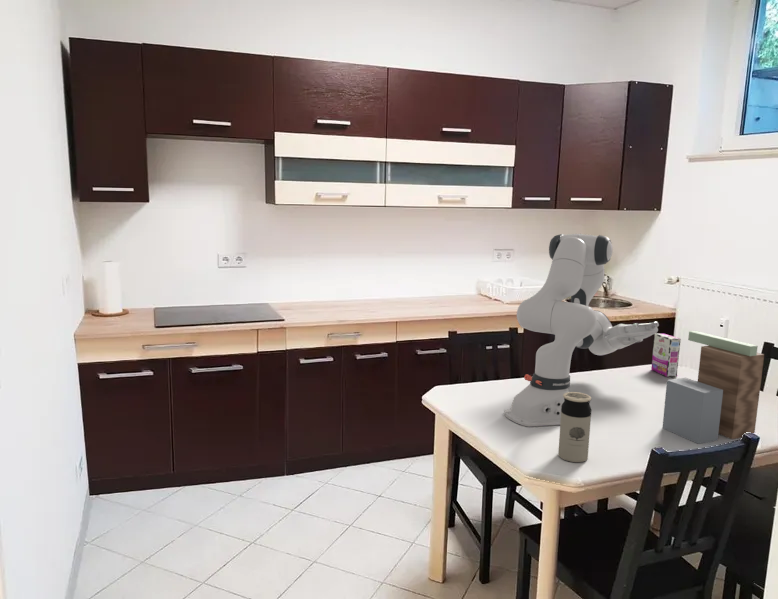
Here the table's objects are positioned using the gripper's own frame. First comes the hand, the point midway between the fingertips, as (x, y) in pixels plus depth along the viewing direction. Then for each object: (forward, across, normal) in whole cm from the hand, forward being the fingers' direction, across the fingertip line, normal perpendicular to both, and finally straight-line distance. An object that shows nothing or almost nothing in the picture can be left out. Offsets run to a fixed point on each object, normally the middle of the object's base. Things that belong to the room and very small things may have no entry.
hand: (647, 324), depth 216 cm
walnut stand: (+16, 0, +41) cm, 44 cm away
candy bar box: (-31, +33, +14) cm, 47 cm away
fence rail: (+26, 0, +16) cm, 30 cm away
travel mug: (+16, -60, +41) cm, 74 cm away
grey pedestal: (+15, -14, +40) cm, 45 cm away
